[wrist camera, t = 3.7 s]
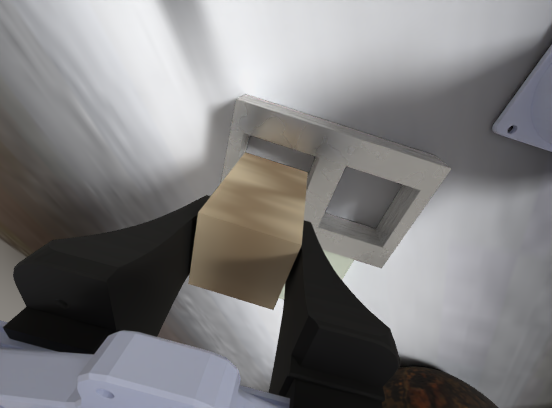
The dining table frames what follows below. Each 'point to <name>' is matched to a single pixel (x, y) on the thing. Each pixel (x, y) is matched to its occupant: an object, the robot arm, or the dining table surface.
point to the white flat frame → (329, 168)
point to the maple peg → (250, 231)
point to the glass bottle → (431, 390)
